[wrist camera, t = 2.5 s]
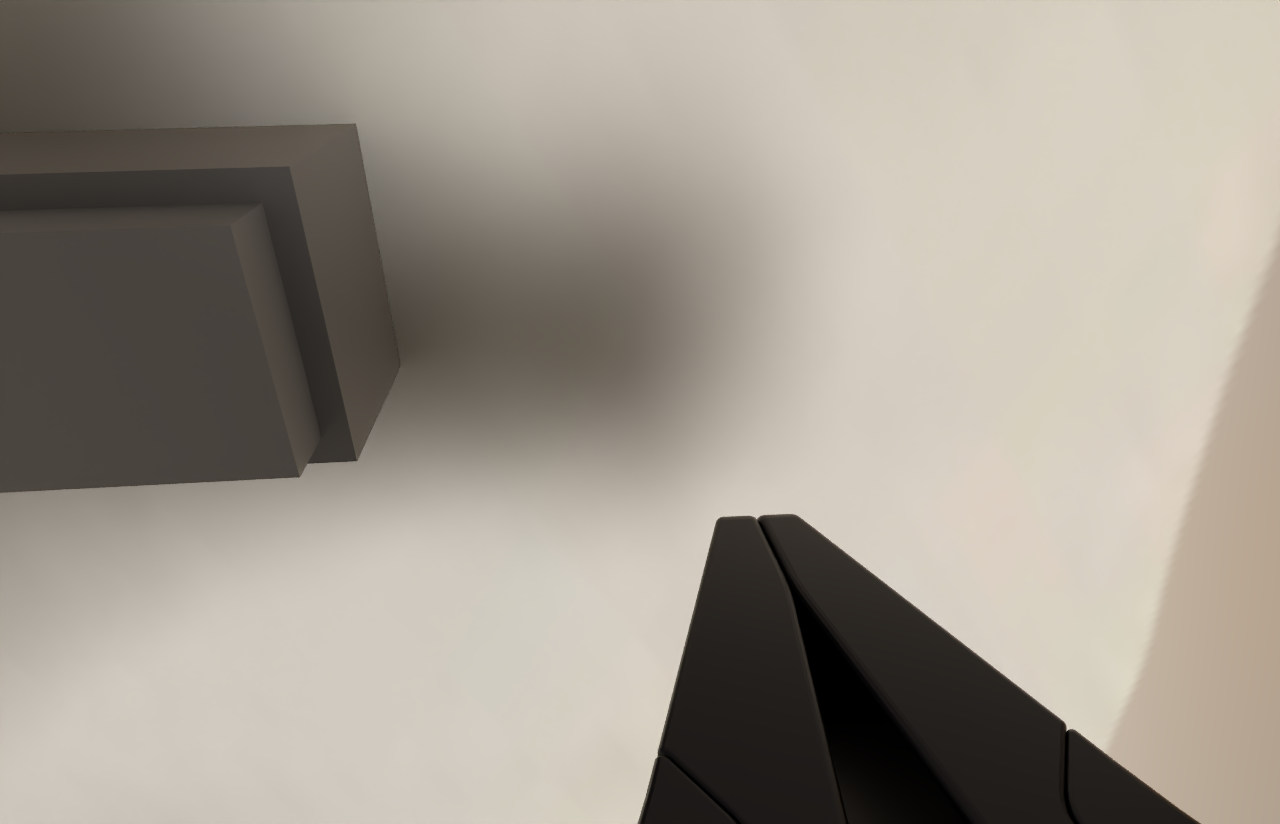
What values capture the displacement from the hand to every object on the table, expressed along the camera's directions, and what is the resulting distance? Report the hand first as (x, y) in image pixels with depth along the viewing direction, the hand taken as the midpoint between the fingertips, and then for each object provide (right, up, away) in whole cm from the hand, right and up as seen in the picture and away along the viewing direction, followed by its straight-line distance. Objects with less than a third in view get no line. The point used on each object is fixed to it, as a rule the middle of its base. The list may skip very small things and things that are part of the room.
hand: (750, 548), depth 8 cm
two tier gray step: (-11, +5, +7) cm, 14 cm away
